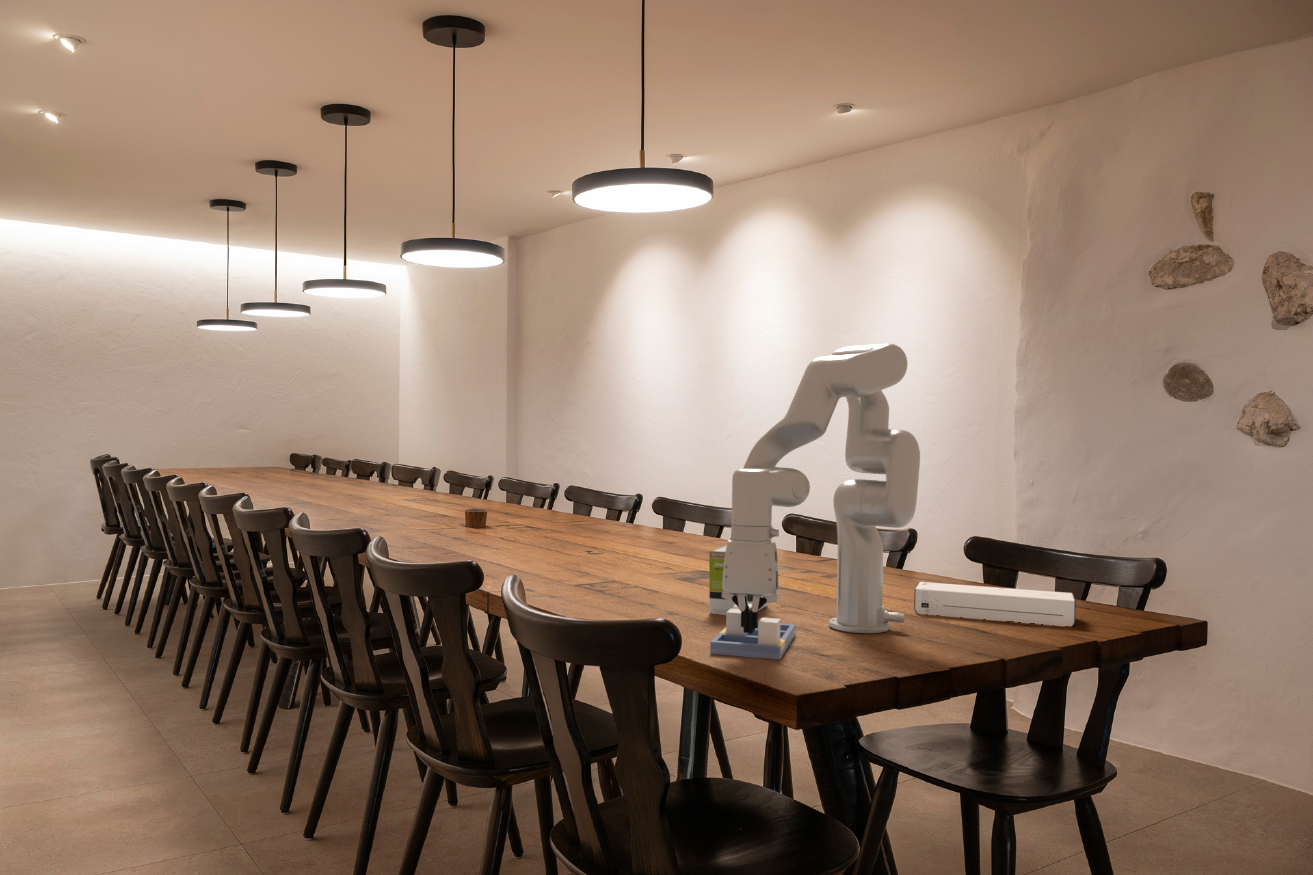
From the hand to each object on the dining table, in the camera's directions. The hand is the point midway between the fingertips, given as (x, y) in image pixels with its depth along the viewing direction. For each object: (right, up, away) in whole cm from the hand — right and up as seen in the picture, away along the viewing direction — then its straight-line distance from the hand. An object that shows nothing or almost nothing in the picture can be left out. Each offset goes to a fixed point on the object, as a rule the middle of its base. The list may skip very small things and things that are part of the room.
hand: (749, 631), depth 170 cm
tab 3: (+4, -3, -1) cm, 5 cm away
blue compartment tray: (+2, -4, +6) cm, 8 cm away
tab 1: (0, -3, +13) cm, 14 cm away
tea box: (+2, -4, +40) cm, 40 cm away
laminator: (+60, -5, +38) cm, 71 cm away
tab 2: (-2, -2, +7) cm, 8 cm away
